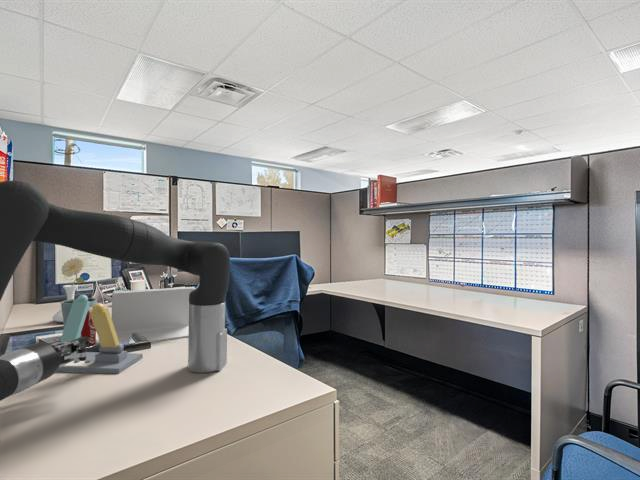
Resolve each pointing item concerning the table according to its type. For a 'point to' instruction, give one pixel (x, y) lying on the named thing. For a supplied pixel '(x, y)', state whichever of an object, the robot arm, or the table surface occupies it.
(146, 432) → the table surface
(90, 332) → the soda can
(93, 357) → the console
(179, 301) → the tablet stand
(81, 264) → the flower in vase
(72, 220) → the robot arm
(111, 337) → the ochre lever
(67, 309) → the grey teal bucket
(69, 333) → the teal lever
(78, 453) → the table surface
